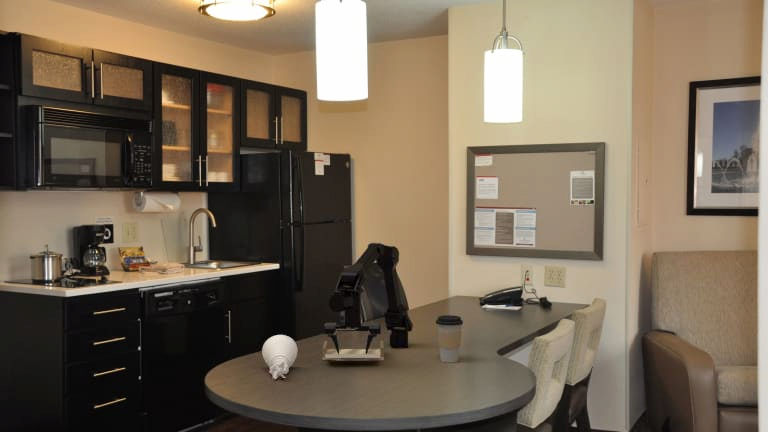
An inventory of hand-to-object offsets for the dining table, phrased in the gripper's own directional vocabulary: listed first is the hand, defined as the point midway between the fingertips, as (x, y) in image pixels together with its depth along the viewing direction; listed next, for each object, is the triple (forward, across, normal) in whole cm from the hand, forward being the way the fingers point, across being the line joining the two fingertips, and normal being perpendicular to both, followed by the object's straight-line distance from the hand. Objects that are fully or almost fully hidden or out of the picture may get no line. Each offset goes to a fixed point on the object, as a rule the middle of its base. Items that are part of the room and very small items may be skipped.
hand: (352, 354), depth 240 cm
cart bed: (+4, 0, -14) cm, 15 cm away
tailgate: (+3, 0, -7) cm, 7 cm away
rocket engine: (+4, +24, +10) cm, 27 cm away
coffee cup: (+4, -33, -7) cm, 34 cm away
